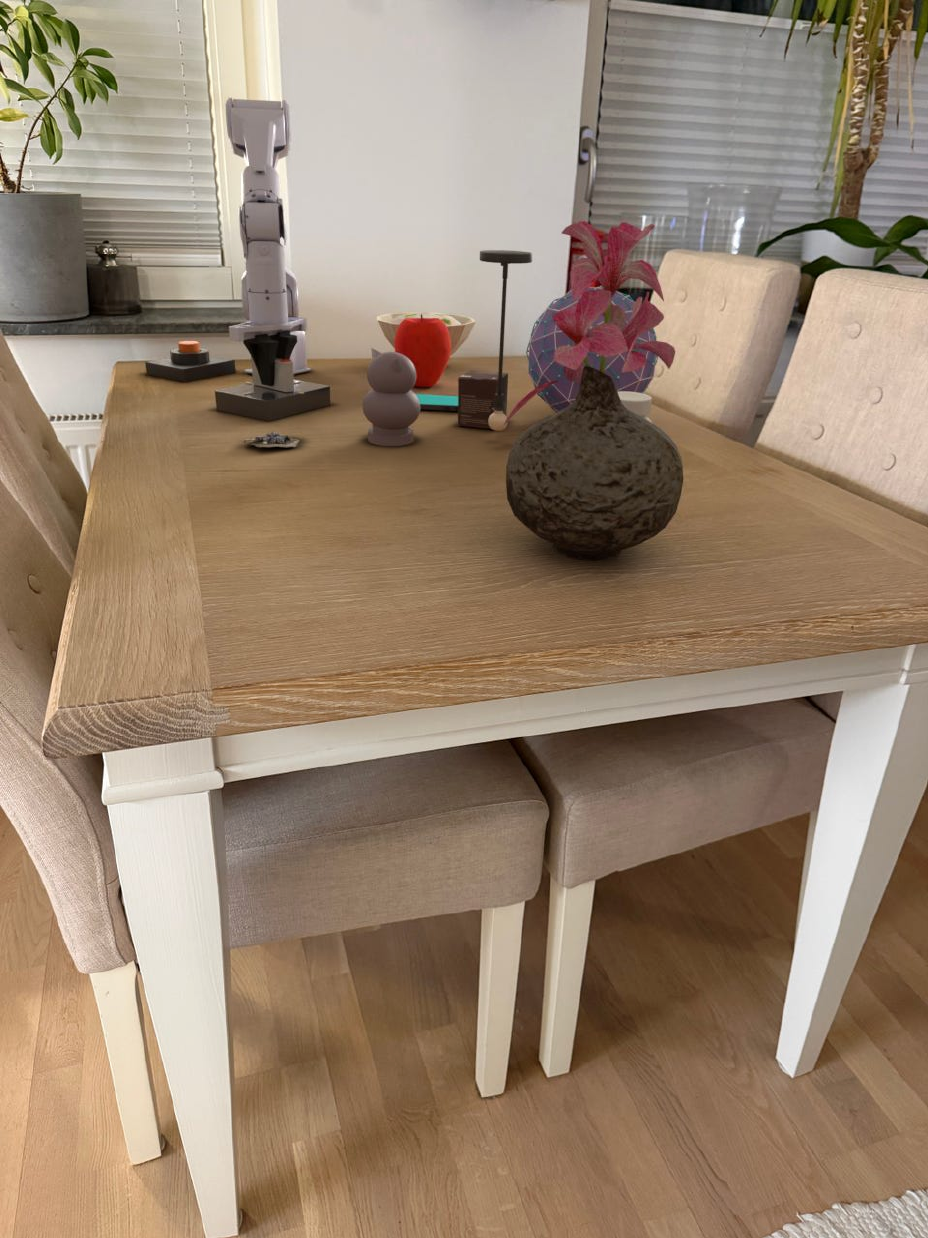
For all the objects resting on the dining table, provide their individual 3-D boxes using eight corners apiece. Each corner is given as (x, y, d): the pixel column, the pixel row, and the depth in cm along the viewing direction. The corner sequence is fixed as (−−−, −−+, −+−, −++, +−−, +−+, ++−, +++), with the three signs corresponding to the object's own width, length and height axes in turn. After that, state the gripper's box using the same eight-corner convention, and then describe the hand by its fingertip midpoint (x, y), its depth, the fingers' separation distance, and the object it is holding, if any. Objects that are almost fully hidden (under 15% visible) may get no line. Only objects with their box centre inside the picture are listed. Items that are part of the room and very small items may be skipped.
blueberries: (233, 445, 120) (232, 431, 119) (280, 434, 125) (279, 421, 125) (265, 455, 116) (264, 441, 115) (312, 444, 122) (311, 430, 121)
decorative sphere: (610, 388, 120) (532, 272, 123) (550, 464, 138) (483, 360, 141) (709, 349, 129) (634, 241, 132) (641, 424, 147) (576, 328, 150)
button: (190, 349, 163) (189, 339, 162) (204, 352, 161) (203, 342, 160) (174, 352, 160) (173, 342, 159) (188, 354, 158) (187, 344, 157)
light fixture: (468, 439, 126) (474, 249, 115) (513, 438, 127) (524, 250, 116) (479, 452, 120) (487, 253, 109) (526, 451, 122) (539, 254, 111)
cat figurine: (431, 444, 123) (432, 355, 118) (380, 451, 120) (379, 359, 114) (401, 430, 130) (401, 345, 124) (352, 436, 126) (350, 348, 121)
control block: (197, 364, 169) (195, 343, 167) (235, 371, 164) (233, 349, 162) (146, 374, 160) (143, 351, 158) (184, 381, 155) (182, 358, 153)
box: (507, 421, 136) (509, 372, 133) (495, 430, 131) (497, 380, 128) (469, 417, 138) (471, 369, 135) (456, 426, 133) (457, 376, 130)
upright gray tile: (252, 384, 140) (250, 353, 138) (260, 383, 142) (258, 352, 139) (286, 392, 136) (284, 360, 134) (294, 391, 137) (292, 359, 135)
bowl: (387, 355, 184) (387, 304, 180) (480, 360, 182) (482, 308, 178) (365, 372, 167) (364, 316, 163) (467, 378, 165) (469, 322, 160)
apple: (441, 378, 164) (442, 309, 159) (457, 390, 156) (459, 317, 150) (388, 380, 161) (388, 309, 156) (402, 392, 153) (402, 317, 147)
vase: (701, 549, 90) (752, 227, 77) (602, 600, 79) (641, 230, 66) (568, 509, 101) (593, 217, 87) (463, 548, 89) (473, 219, 76)
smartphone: (401, 393, 148) (491, 397, 147) (401, 398, 148) (491, 402, 147) (394, 403, 141) (489, 407, 140) (394, 408, 141) (489, 412, 140)
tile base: (277, 394, 148) (276, 375, 147) (333, 405, 143) (332, 385, 141) (213, 409, 138) (211, 388, 136) (271, 421, 132) (270, 400, 130)
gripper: (251, 297, 125) (258, 394, 131) (320, 289, 136) (323, 380, 142) (215, 293, 128) (224, 388, 134) (285, 285, 139) (290, 374, 145)
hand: (273, 383), depth 138 cm, fingers closed on upright gray tile, 2 cm apart
